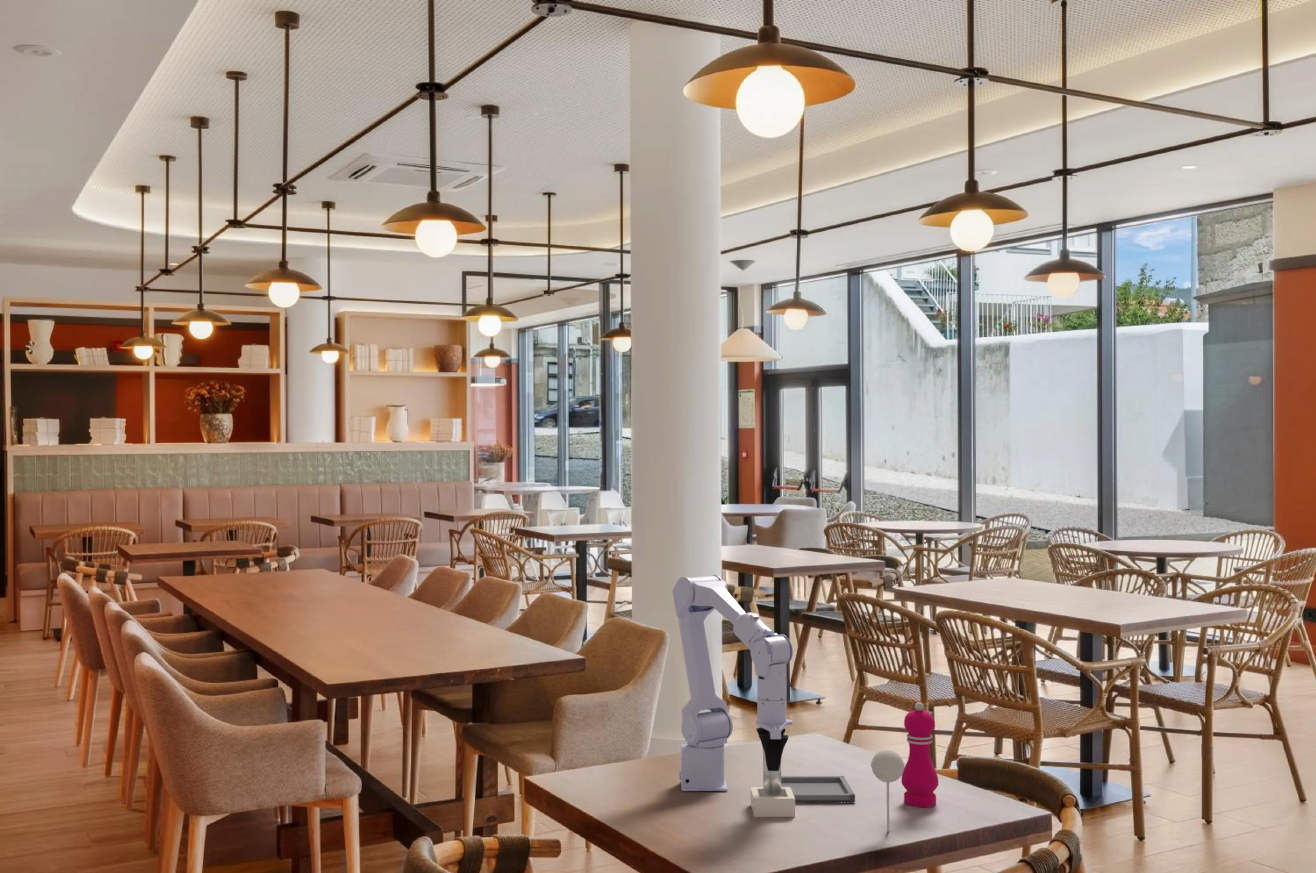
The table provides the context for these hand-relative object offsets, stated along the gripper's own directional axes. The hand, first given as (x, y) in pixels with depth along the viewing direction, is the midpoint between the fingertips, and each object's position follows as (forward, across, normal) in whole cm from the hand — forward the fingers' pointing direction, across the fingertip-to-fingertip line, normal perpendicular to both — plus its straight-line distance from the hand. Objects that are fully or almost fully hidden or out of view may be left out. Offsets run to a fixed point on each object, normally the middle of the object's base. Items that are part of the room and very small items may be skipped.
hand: (772, 767), depth 223 cm
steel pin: (+5, 0, 0) cm, 5 cm away
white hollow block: (+8, 0, 0) cm, 8 cm away
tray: (+8, +12, -9) cm, 17 cm away
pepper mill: (+8, +5, -30) cm, 32 cm away
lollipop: (+8, -13, -20) cm, 25 cm away
